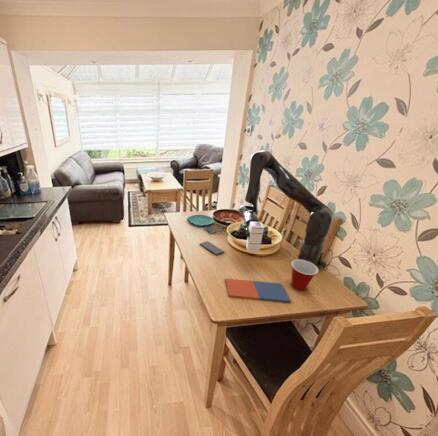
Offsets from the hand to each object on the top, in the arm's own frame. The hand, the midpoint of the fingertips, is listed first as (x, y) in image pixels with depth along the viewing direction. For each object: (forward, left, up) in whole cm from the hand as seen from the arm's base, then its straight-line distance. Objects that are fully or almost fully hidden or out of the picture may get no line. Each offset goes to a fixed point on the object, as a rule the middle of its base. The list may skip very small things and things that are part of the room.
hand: (255, 236), depth 116 cm
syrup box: (0, -3, -9) cm, 10 cm away
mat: (0, +14, -22) cm, 26 cm away
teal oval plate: (+19, -57, -22) cm, 64 cm away
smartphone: (+17, -22, -22) cm, 35 cm away
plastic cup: (-21, +8, -22) cm, 31 cm away
